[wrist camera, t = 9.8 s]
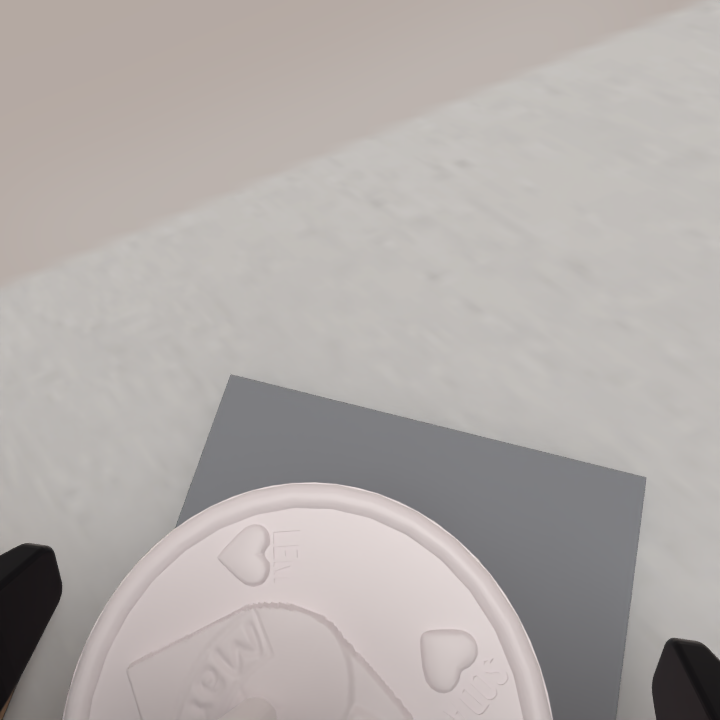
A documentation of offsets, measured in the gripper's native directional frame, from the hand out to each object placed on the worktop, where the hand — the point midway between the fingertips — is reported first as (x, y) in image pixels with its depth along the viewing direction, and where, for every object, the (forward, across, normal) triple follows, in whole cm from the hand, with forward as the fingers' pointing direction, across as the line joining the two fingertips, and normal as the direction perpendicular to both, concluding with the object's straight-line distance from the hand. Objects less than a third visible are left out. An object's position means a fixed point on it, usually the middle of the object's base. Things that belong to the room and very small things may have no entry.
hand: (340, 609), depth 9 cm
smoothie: (+5, 0, +7) cm, 9 cm away
